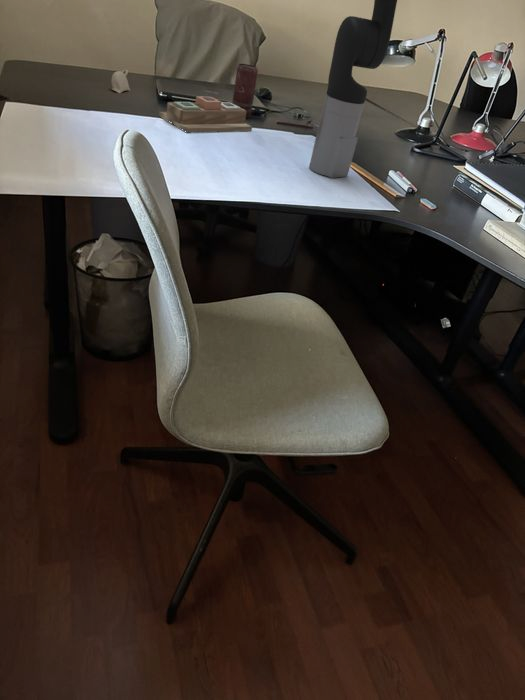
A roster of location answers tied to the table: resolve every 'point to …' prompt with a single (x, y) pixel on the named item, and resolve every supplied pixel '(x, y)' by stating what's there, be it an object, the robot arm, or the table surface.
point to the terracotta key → (208, 103)
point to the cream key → (229, 106)
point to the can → (245, 87)
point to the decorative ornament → (120, 81)
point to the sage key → (186, 106)
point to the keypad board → (206, 119)
